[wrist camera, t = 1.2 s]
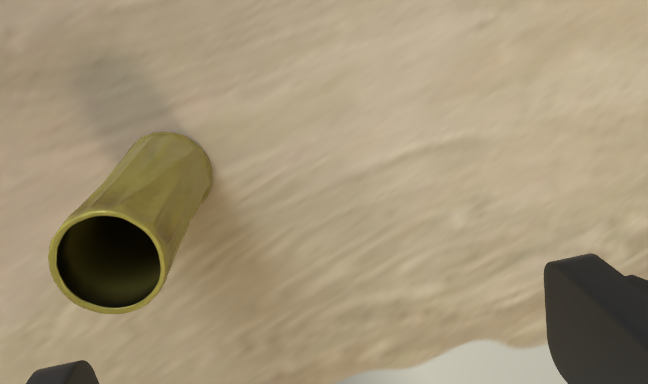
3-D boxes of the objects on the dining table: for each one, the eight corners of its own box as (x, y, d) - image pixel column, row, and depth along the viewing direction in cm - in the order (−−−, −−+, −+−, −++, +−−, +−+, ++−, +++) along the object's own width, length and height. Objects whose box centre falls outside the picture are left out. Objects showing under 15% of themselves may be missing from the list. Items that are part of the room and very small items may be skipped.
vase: (189, 118, 36) (138, 180, 23) (226, 196, 38) (199, 296, 25) (108, 150, 36) (8, 231, 23) (148, 226, 38) (80, 342, 25)
